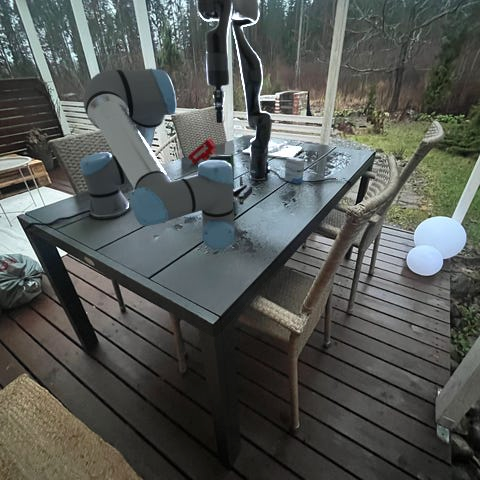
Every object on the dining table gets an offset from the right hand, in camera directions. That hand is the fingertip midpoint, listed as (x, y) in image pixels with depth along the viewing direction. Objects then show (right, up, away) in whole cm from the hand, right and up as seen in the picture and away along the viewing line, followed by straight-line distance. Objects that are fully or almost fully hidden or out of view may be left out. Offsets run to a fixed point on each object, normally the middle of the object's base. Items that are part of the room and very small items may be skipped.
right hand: (220, 120), depth 101 cm
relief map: (+31, +19, +93) cm, 100 cm away
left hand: (+1, -24, -8) cm, 26 cm away
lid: (0, -18, +5) cm, 19 cm away
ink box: (+36, -13, +43) cm, 57 cm away
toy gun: (-14, +4, +70) cm, 71 cm away
